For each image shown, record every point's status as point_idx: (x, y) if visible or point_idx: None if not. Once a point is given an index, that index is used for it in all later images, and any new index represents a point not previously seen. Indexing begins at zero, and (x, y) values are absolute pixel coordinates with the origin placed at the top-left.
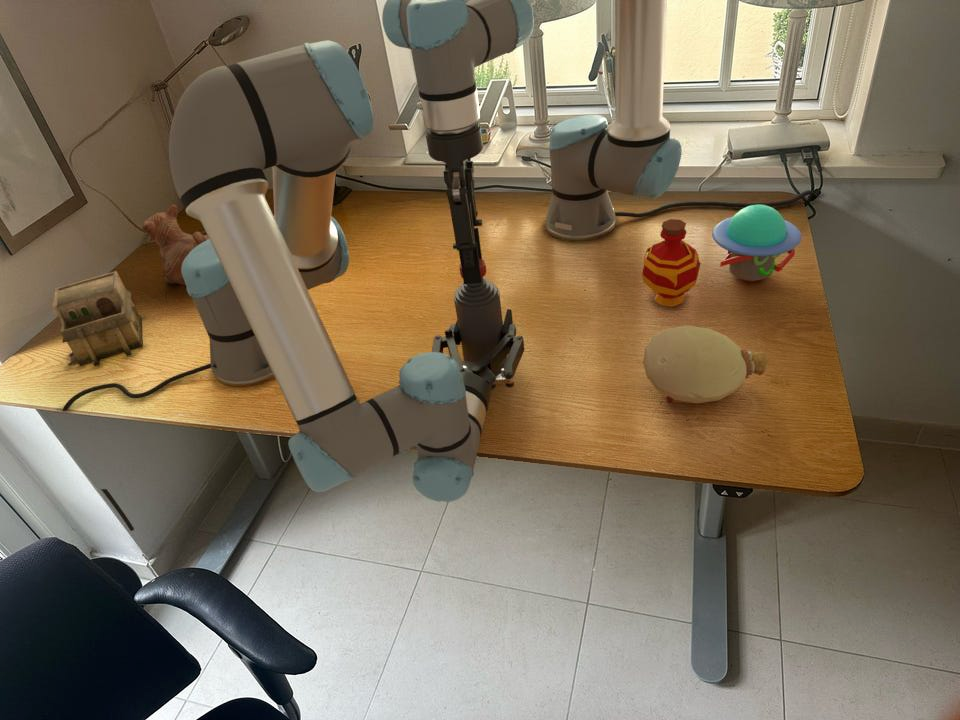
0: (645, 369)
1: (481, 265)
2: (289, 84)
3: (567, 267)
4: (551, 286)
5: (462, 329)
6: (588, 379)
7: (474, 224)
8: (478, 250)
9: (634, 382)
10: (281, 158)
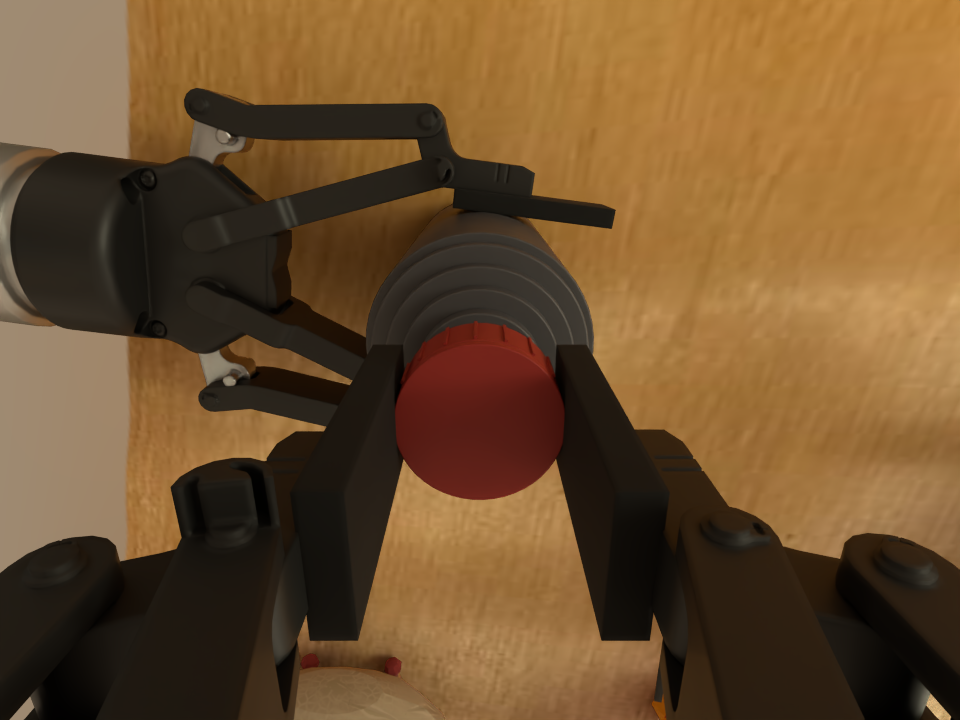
0: (309, 684)
1: (453, 482)
2: None
3: (934, 500)
4: (844, 453)
5: (416, 240)
6: (397, 518)
7: (662, 652)
8: (570, 496)
9: (382, 603)
10: None
